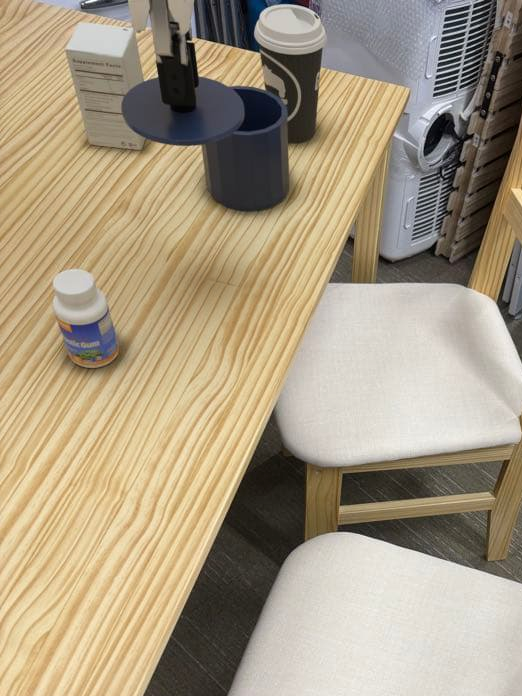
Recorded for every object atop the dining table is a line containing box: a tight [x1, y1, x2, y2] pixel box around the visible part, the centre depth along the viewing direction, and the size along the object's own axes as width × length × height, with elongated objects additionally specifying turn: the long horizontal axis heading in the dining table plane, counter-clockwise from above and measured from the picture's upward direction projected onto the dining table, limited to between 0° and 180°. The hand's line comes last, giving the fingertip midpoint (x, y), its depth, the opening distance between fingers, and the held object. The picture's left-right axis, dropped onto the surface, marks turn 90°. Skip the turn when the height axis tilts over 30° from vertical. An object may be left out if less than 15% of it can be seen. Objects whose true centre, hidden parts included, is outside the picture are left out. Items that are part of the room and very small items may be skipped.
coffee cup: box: [253, 3, 328, 144], centre depth 108 cm, size 10×10×15 cm
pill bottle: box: [52, 268, 120, 369], centre depth 83 cm, size 5×5×10 cm
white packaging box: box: [64, 21, 147, 151], centre depth 104 cm, size 7×7×13 cm
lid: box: [121, 41, 245, 147], centre depth 76 cm, size 12×12×7 cm
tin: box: [200, 85, 290, 212], centre depth 101 cm, size 11×11×10 cm
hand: (181, 92), depth 77 cm, fingers closed on lid, 2 cm apart
